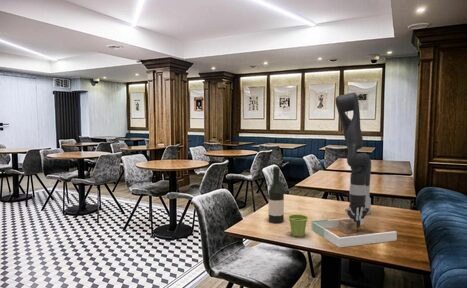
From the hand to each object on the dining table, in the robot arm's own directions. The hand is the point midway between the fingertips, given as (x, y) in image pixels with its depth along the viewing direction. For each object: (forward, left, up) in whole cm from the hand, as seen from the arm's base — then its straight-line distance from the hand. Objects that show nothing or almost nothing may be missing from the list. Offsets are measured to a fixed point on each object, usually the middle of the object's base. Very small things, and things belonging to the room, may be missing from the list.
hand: (356, 227), depth 159 cm
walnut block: (+6, 0, -2) cm, 6 cm away
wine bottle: (+33, -24, -2) cm, 41 cm away
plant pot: (+31, -2, -2) cm, 31 cm away
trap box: (+6, +5, -2) cm, 8 cm away
